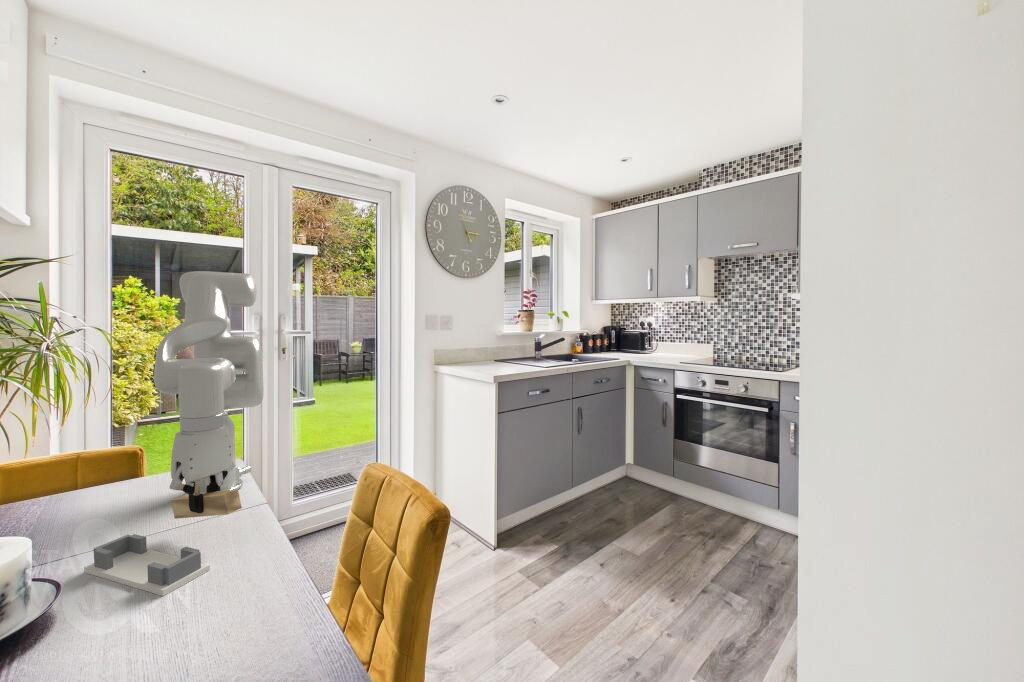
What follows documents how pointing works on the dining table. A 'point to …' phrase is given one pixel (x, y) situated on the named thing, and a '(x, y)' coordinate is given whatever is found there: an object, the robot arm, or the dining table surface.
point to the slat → (208, 504)
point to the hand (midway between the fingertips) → (205, 507)
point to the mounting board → (145, 565)
